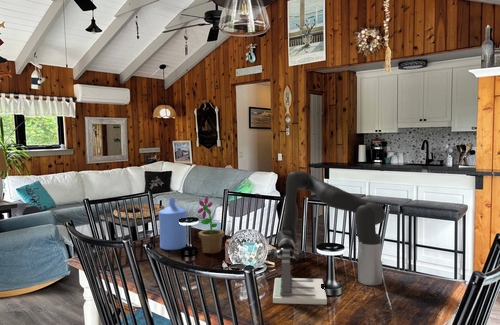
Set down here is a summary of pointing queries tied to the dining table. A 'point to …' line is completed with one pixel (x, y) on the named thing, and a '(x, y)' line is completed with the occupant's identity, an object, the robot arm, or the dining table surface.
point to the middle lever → (286, 257)
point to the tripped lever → (286, 251)
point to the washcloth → (270, 249)
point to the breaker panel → (301, 292)
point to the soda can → (227, 251)
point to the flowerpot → (209, 231)
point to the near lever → (286, 279)
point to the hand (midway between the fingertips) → (286, 258)
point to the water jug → (172, 227)
